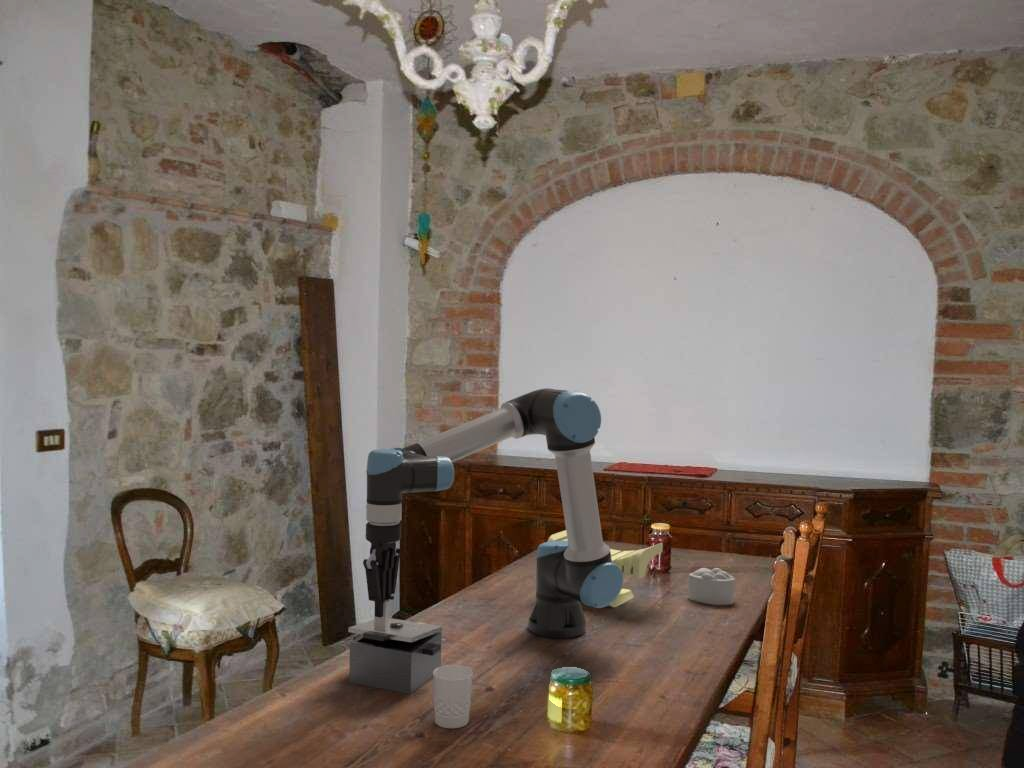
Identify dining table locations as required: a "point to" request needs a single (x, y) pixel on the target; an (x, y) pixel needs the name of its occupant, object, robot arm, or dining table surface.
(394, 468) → the robot arm
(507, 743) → the dining table surface
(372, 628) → the lid
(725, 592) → the lumpy-topped squat cylinder
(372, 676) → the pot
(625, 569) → the pale yellow slotted stand
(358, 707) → the dining table surface
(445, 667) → the white cup
